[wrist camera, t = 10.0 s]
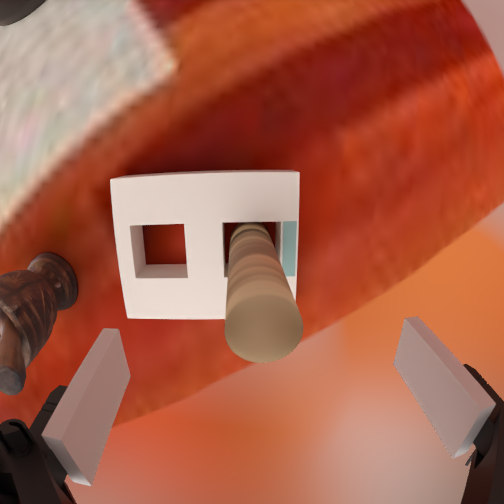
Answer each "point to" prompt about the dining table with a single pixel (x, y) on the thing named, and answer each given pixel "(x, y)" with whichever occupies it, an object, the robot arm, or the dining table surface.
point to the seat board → (197, 235)
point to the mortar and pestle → (31, 314)
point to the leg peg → (259, 298)
